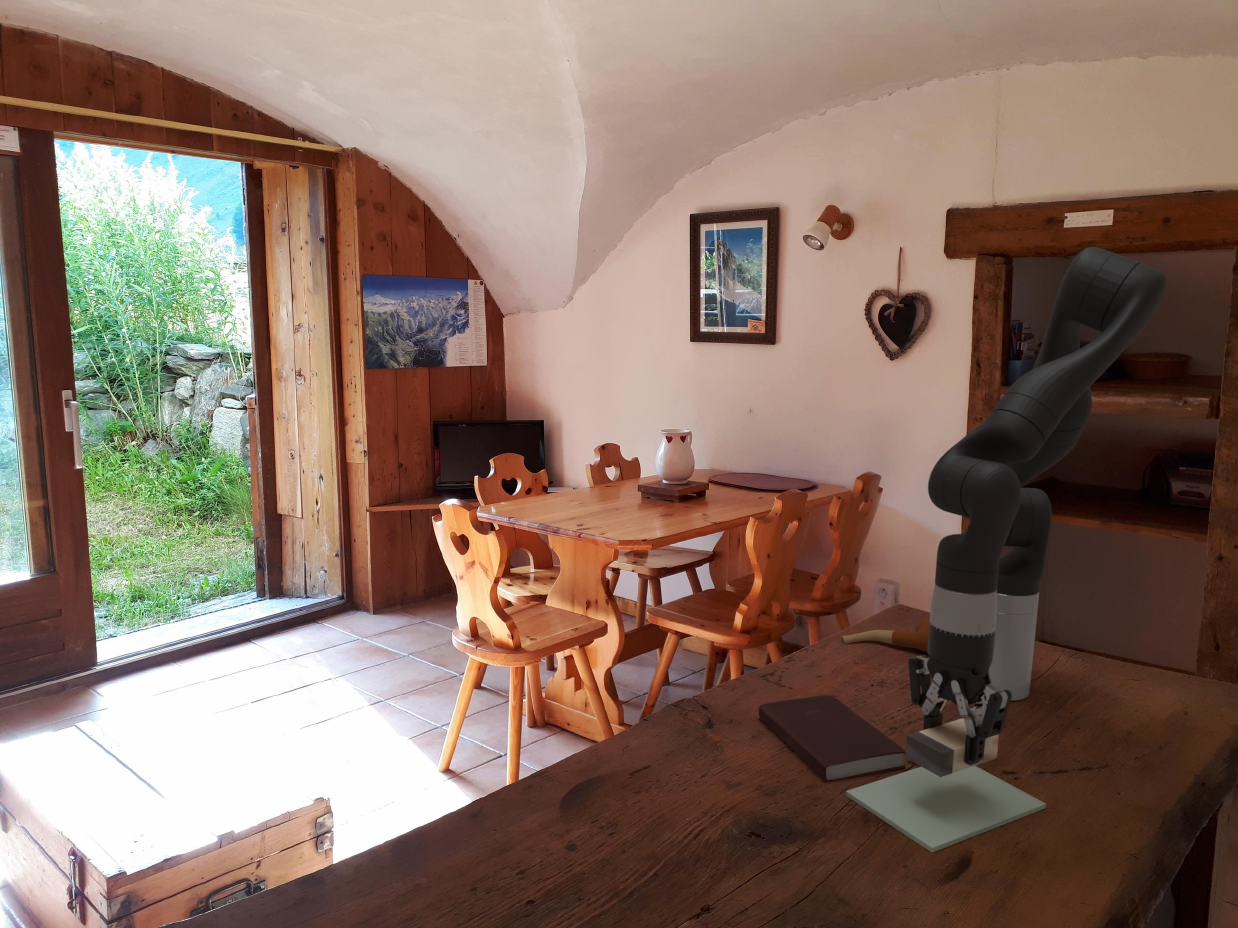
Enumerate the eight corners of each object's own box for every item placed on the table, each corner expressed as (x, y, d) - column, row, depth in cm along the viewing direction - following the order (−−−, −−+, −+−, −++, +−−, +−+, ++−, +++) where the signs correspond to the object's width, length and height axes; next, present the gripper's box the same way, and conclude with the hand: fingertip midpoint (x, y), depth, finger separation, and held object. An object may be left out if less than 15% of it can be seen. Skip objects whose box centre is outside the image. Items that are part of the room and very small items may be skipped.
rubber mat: (845, 795, 118) (845, 790, 118) (955, 759, 128) (955, 755, 128) (931, 852, 107) (932, 847, 106) (1045, 807, 116) (1046, 803, 116)
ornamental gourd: (952, 660, 165) (955, 628, 163) (845, 654, 166) (847, 623, 165) (942, 645, 172) (945, 614, 170) (840, 639, 173) (842, 609, 172)
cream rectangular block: (960, 739, 121) (962, 718, 120) (996, 757, 116) (998, 735, 116) (905, 757, 116) (906, 734, 115) (940, 777, 111) (942, 753, 111)
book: (823, 785, 122) (824, 762, 121) (757, 721, 140) (758, 700, 139) (906, 772, 126) (908, 750, 125) (831, 711, 144) (832, 691, 143)
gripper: (1034, 635, 109) (1021, 770, 112) (937, 600, 121) (927, 723, 124) (991, 646, 105) (979, 785, 108) (895, 609, 117) (886, 735, 120)
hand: (951, 751), depth 116 cm, fingers closed on cream rectangular block, 5 cm apart
